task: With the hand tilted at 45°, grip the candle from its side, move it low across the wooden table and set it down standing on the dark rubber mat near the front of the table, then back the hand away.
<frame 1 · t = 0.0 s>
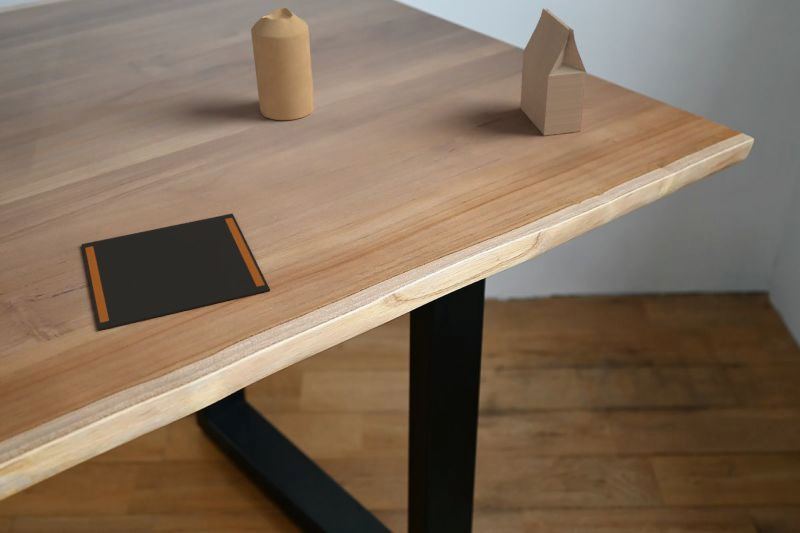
tan gable-top carton: (549, 121, 89), on the table
candle: (287, 111, 93), on the table
mat: (172, 267, 68), on the table
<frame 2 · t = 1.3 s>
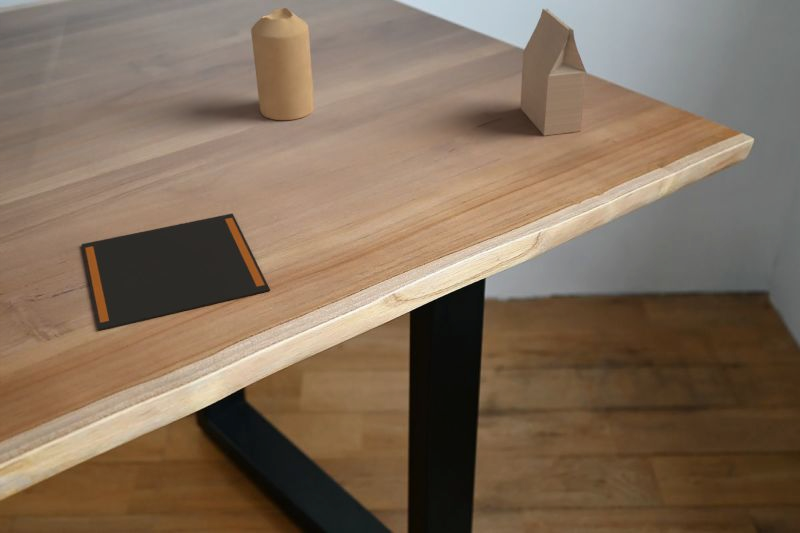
nothing on the table moved.
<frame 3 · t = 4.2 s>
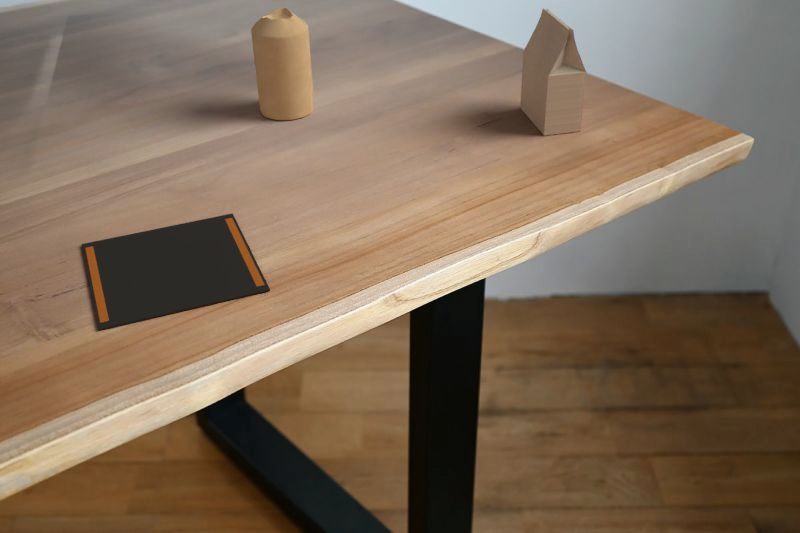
nothing on the table moved.
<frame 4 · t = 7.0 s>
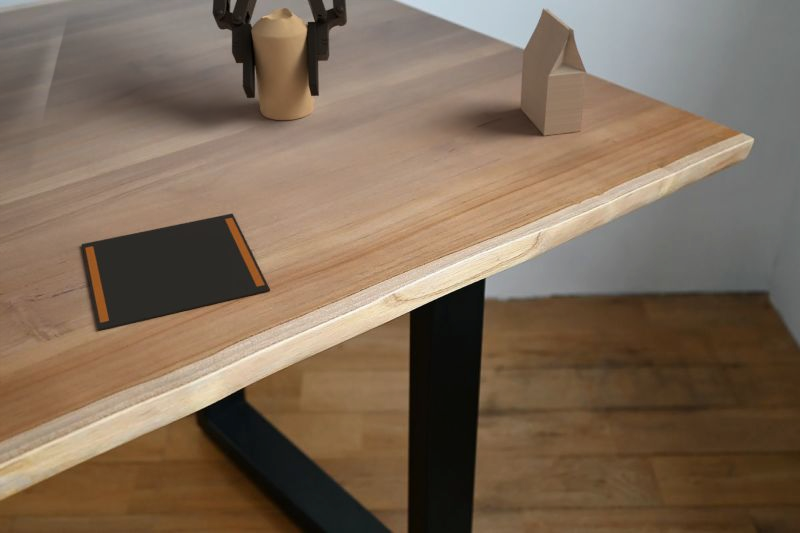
hand: (281, 91, 88), 4 cm above the table, tool tilted 45°, fingers closed on candle, 5 cm apart
candle: (287, 111, 93), on the table, touching gripper
everything else where it was.
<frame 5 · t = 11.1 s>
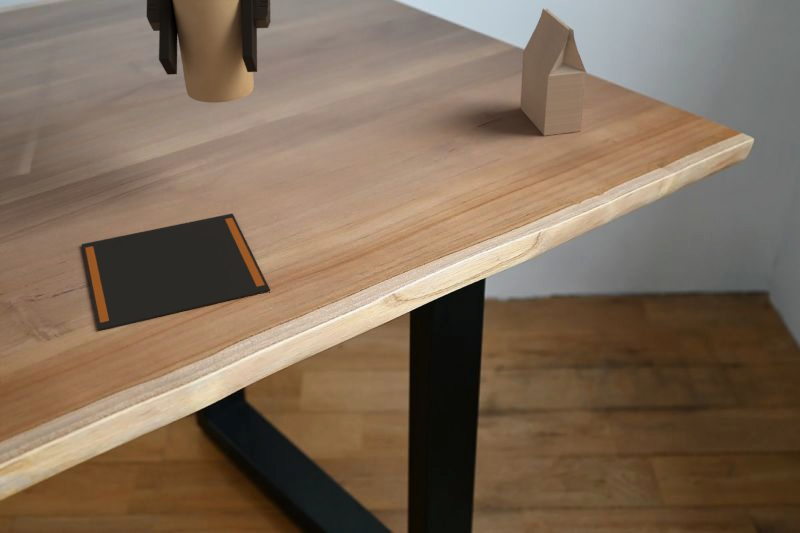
hand: (209, 65, 70), 12 cm above the table, tool tilted 45°, fingers closed on candle, 5 cm apart
candle: (221, 92, 75), point 8 cm above the table, touching gripper
everything else where it was.
when the fingers open (4 cm above the table, at t = 15.4 s): candle stays where it is, resting on mat.
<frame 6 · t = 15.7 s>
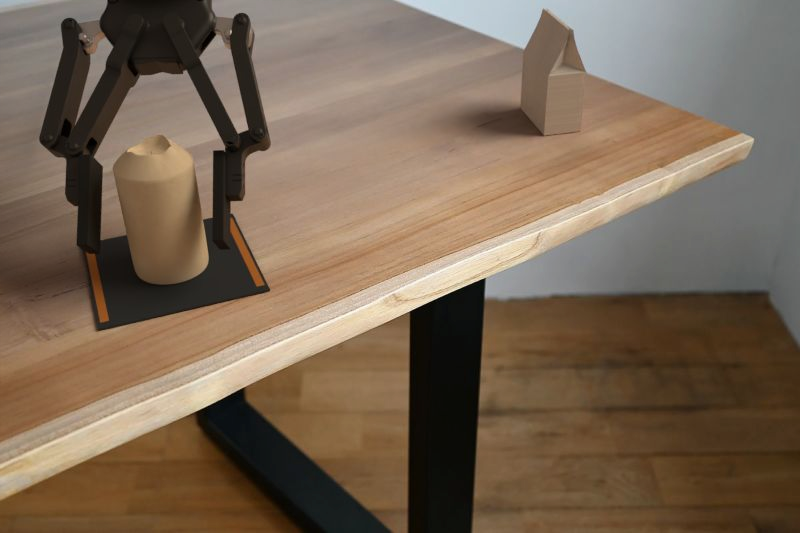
hand: (155, 247, 63), 4 cm above the table, tool tilted 45°, fingers open, 9 cm apart
candle: (172, 267, 68), resting on mat
everything else where it was.
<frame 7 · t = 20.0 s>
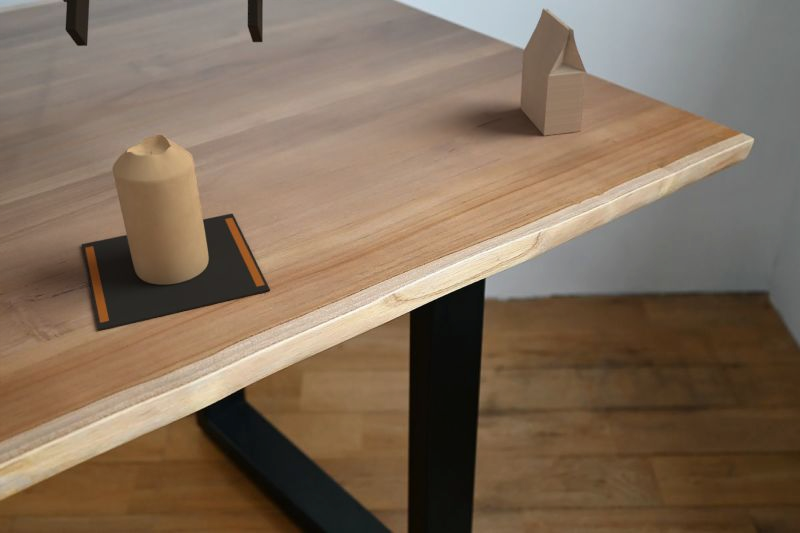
hand: (165, 36, 69), 14 cm above the table, tool tilted 45°, fingers open, 13 cm apart
nothing on the table moved.
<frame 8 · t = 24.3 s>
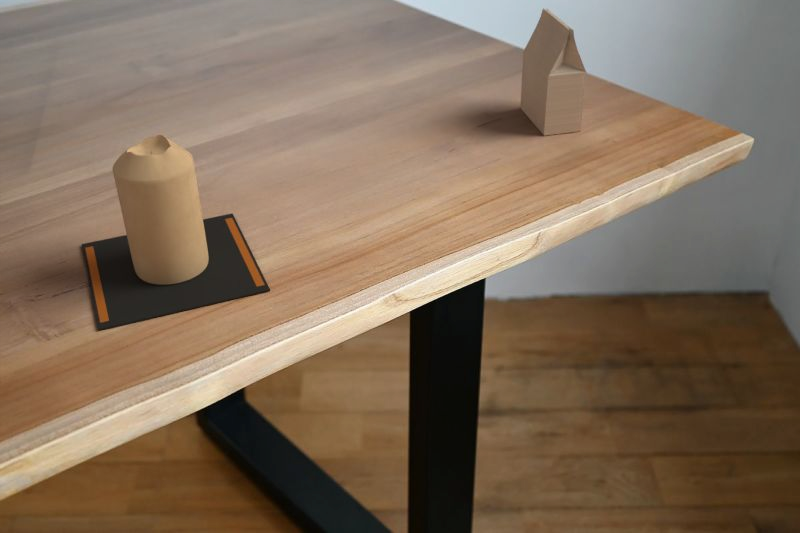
nothing on the table moved.
at the end: candle inside the target area on the mat (0.1 cm from its centre), point 0.0 cm above the mat's base; candle tilted 0°; candle moved 29.6 cm from its start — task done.
